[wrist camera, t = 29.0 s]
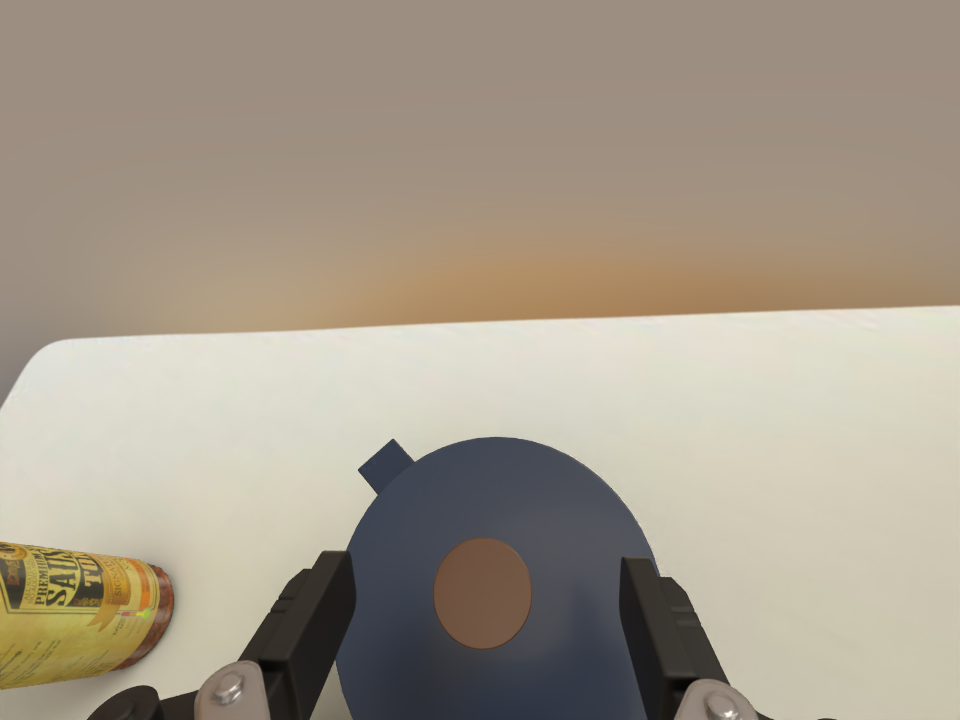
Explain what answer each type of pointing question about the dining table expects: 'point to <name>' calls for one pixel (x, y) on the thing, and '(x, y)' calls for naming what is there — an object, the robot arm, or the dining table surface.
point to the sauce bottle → (76, 613)
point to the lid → (491, 591)
